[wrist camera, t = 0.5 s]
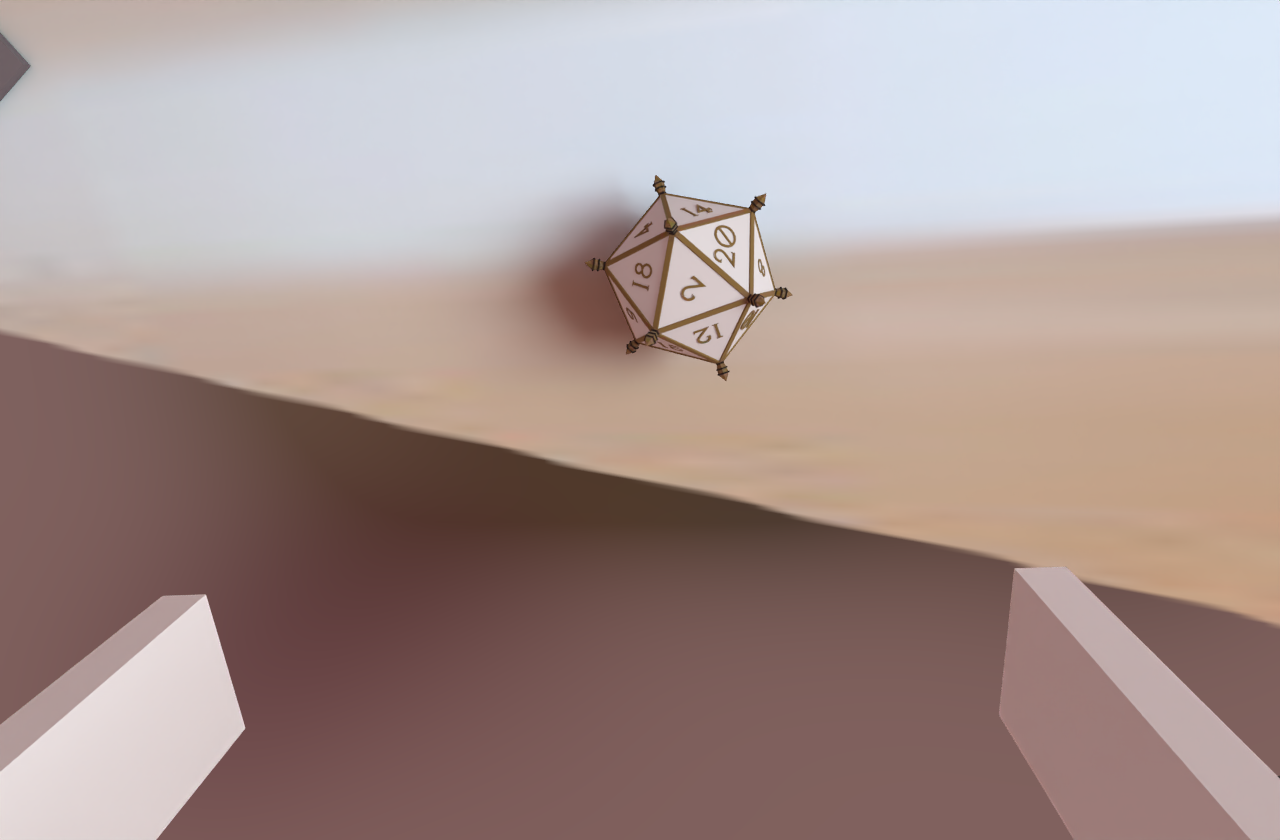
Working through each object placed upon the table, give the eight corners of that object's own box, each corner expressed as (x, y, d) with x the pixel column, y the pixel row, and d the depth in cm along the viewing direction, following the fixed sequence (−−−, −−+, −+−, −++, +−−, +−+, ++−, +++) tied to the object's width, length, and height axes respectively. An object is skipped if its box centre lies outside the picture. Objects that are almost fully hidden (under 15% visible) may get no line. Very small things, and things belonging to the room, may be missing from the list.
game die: (664, 237, 40) (613, 112, 31) (814, 267, 37) (806, 139, 28) (607, 381, 38) (534, 294, 29) (759, 425, 35) (732, 343, 26)
